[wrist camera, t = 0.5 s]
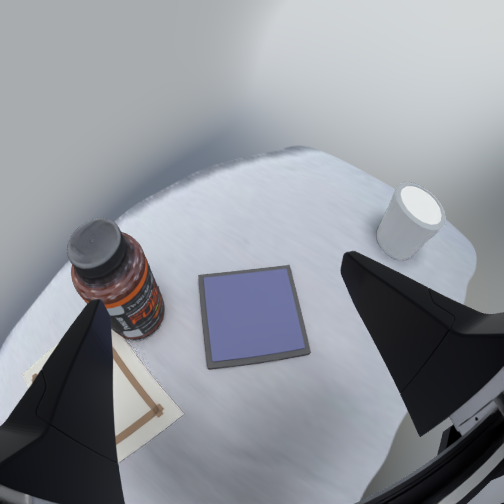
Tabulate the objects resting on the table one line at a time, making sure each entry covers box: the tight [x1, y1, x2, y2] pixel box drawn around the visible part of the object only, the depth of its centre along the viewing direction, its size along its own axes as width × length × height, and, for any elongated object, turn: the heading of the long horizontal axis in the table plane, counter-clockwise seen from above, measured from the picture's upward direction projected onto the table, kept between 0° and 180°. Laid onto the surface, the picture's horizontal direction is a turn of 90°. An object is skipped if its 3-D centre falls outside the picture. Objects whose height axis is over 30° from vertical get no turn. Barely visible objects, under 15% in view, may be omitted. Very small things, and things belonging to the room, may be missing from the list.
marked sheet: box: [22, 329, 184, 463], centre depth 20 cm, size 13×13×1 cm
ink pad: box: [198, 265, 311, 369], centre depth 25 cm, size 9×9×1 cm
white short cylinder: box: [376, 182, 446, 260], centre depth 29 cm, size 7×7×7 cm
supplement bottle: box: [67, 218, 164, 339], centre depth 20 cm, size 6×6×11 cm
